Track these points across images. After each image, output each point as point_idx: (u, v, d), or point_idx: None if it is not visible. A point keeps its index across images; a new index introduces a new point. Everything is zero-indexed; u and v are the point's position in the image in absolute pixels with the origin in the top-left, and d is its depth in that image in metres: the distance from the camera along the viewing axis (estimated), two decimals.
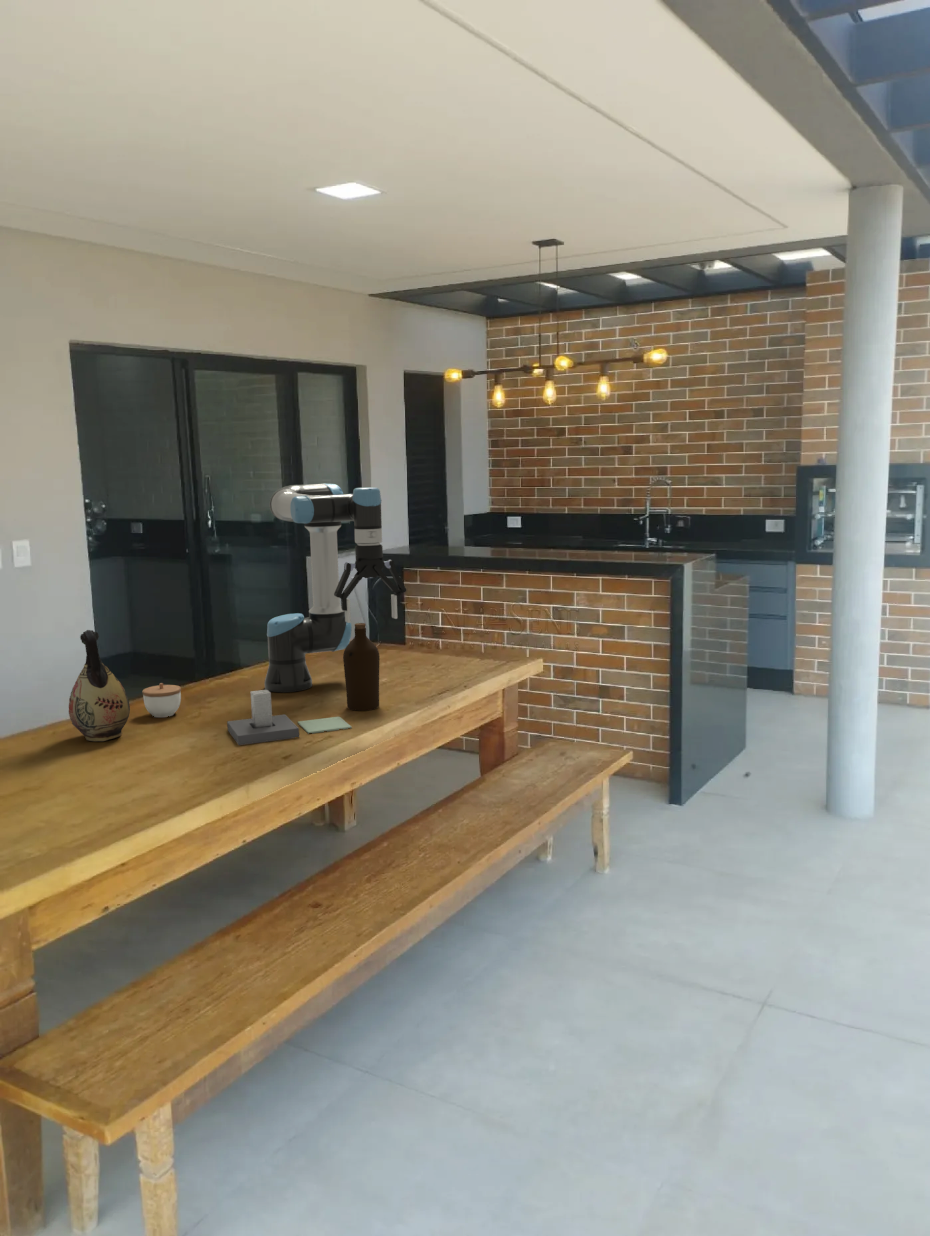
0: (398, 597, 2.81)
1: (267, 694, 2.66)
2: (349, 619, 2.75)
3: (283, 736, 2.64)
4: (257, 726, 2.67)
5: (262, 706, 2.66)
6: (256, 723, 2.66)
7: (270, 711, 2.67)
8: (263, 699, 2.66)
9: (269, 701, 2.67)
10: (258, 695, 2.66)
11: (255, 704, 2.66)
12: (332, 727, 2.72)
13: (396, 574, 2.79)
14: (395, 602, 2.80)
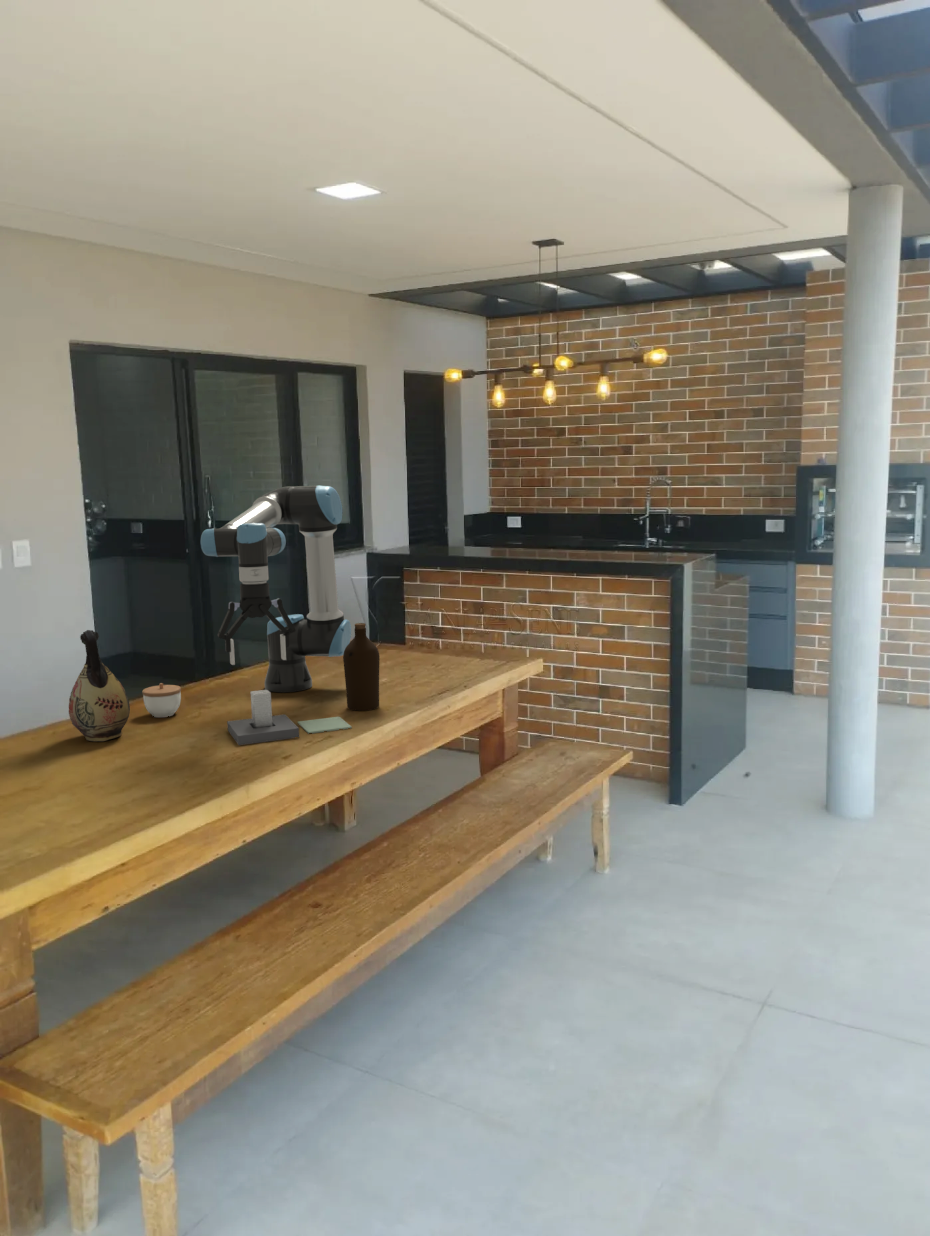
0: (287, 637, 2.68)
1: (267, 694, 2.66)
2: (233, 661, 2.62)
3: (283, 736, 2.64)
4: (257, 726, 2.67)
5: (262, 706, 2.66)
6: (256, 723, 2.66)
7: (270, 711, 2.67)
8: (263, 699, 2.66)
9: (269, 701, 2.67)
10: (258, 695, 2.66)
11: (255, 704, 2.66)
12: (332, 727, 2.72)
13: (284, 613, 2.66)
14: (283, 643, 2.67)
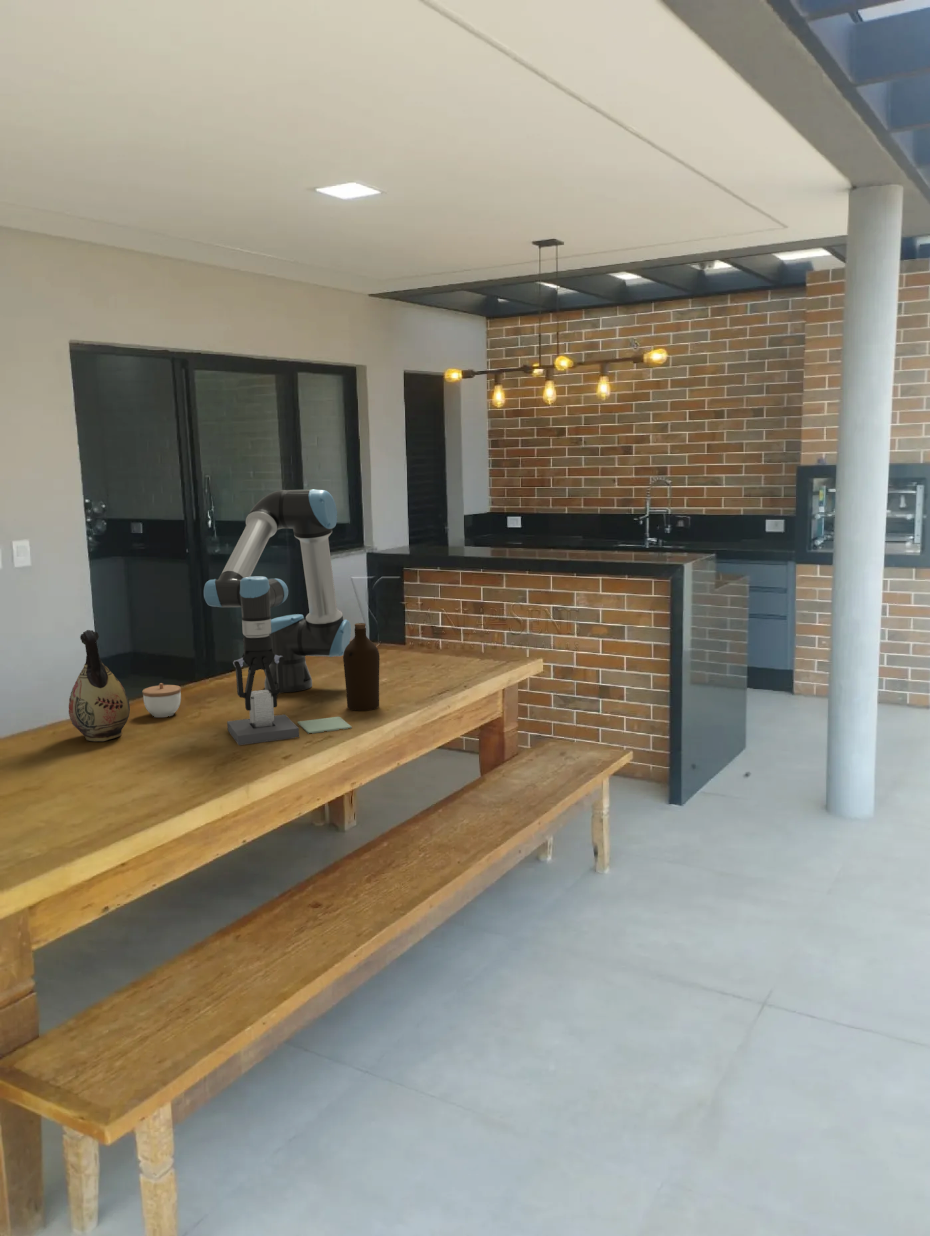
0: (275, 698, 2.69)
1: (267, 694, 2.66)
2: (253, 719, 2.67)
3: (283, 736, 2.64)
4: (257, 726, 2.67)
5: (262, 706, 2.66)
6: (256, 723, 2.66)
7: (270, 711, 2.67)
8: (263, 699, 2.66)
9: (269, 701, 2.67)
10: (258, 695, 2.66)
11: (255, 704, 2.66)
12: (332, 727, 2.72)
13: (280, 672, 2.68)
14: (271, 703, 2.68)
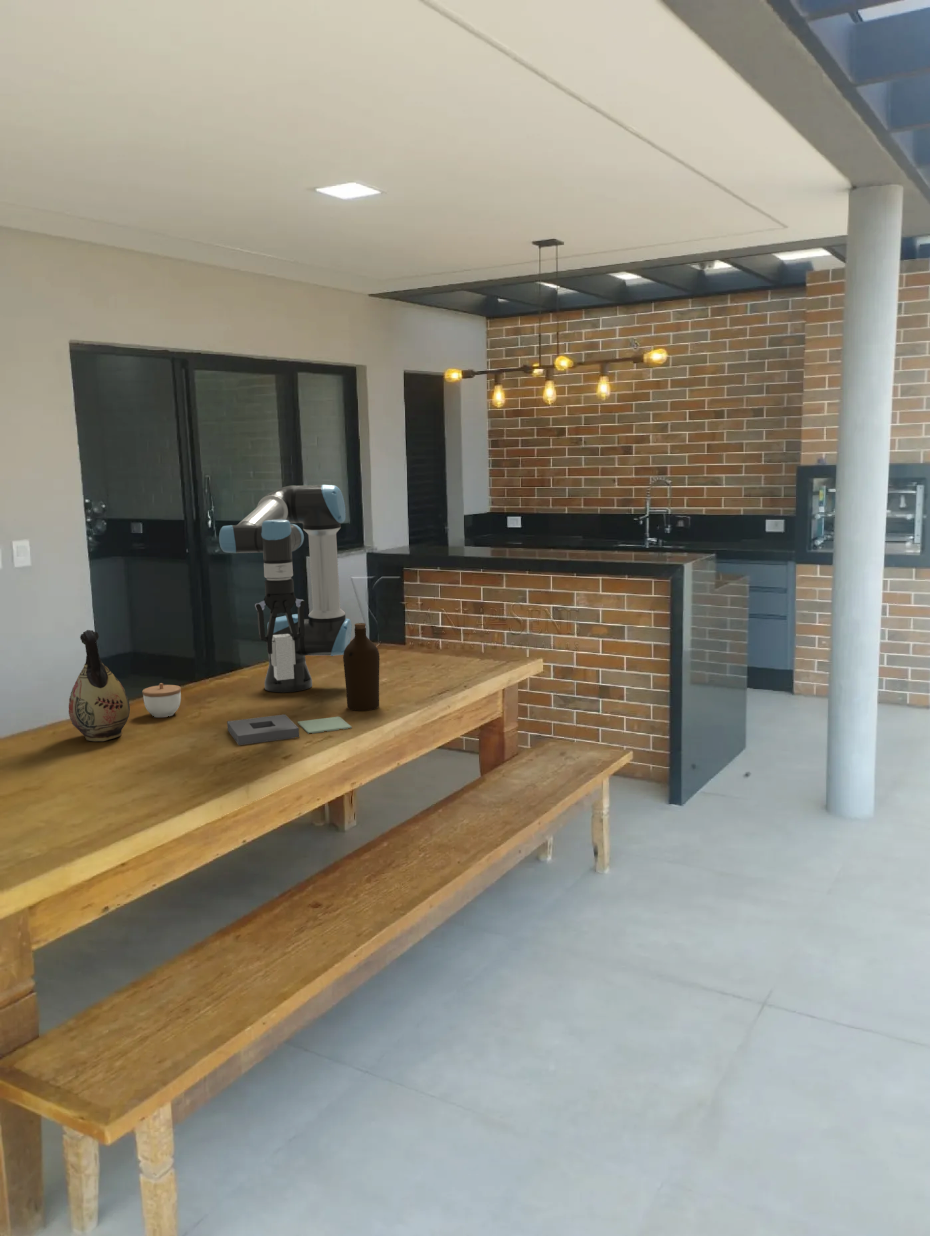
0: (296, 642, 2.69)
1: (288, 637, 2.67)
2: (274, 662, 2.67)
3: (283, 736, 2.64)
4: (278, 669, 2.67)
5: (283, 650, 2.67)
6: (277, 666, 2.67)
7: (291, 655, 2.68)
8: (285, 642, 2.66)
9: (290, 644, 2.67)
10: (279, 638, 2.66)
11: (276, 647, 2.66)
12: (332, 727, 2.72)
13: (302, 616, 2.68)
14: (293, 647, 2.68)
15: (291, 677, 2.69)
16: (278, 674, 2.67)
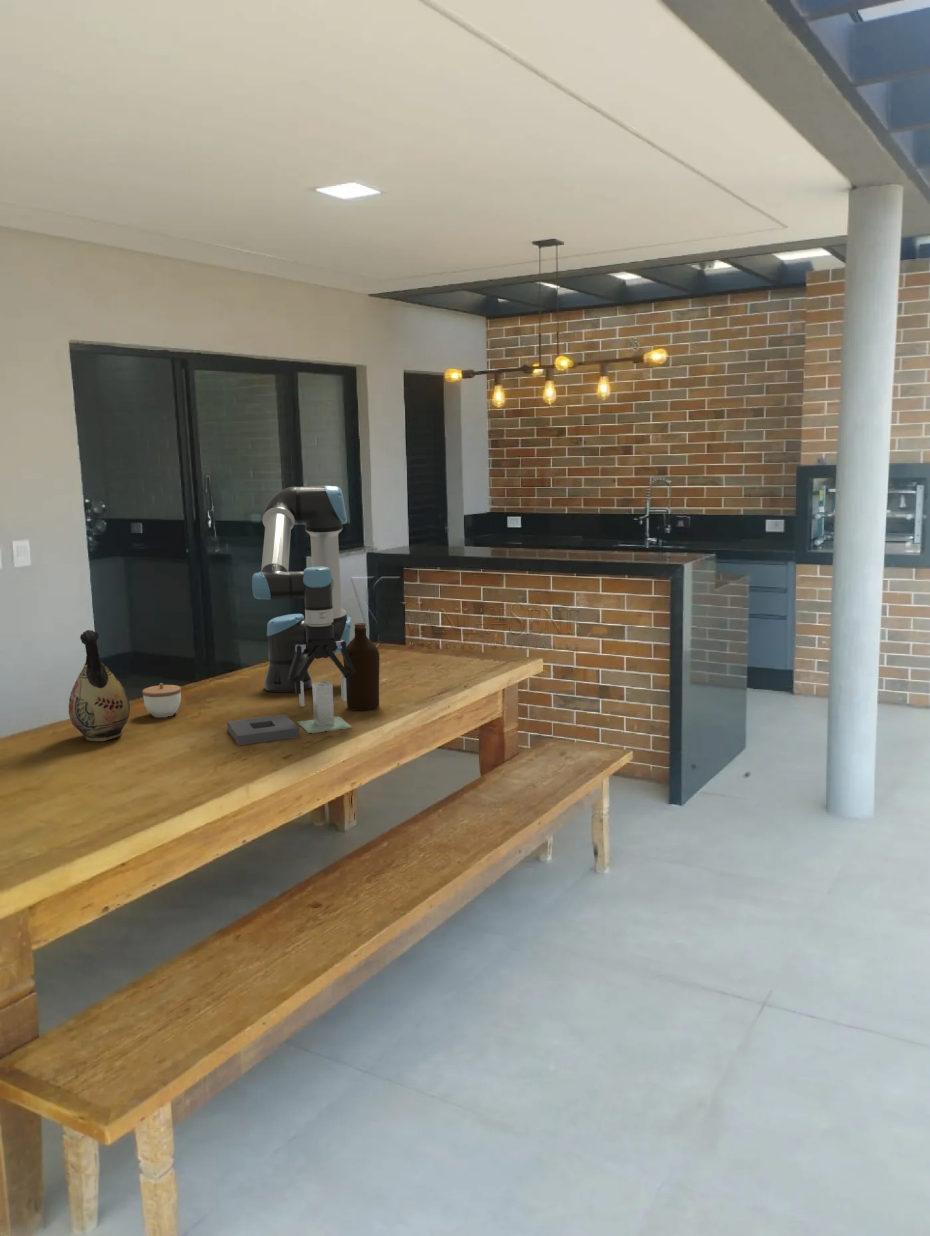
0: (347, 679, 2.76)
1: (329, 685, 2.73)
2: (303, 702, 2.72)
3: (283, 736, 2.64)
4: (319, 716, 2.73)
5: (324, 697, 2.73)
6: (318, 713, 2.73)
7: (332, 702, 2.74)
8: (325, 690, 2.73)
9: (331, 692, 2.73)
10: (320, 686, 2.72)
11: (317, 695, 2.72)
12: (332, 727, 2.72)
13: (347, 655, 2.75)
14: (344, 684, 2.76)
15: (331, 724, 2.75)
16: (319, 721, 2.73)
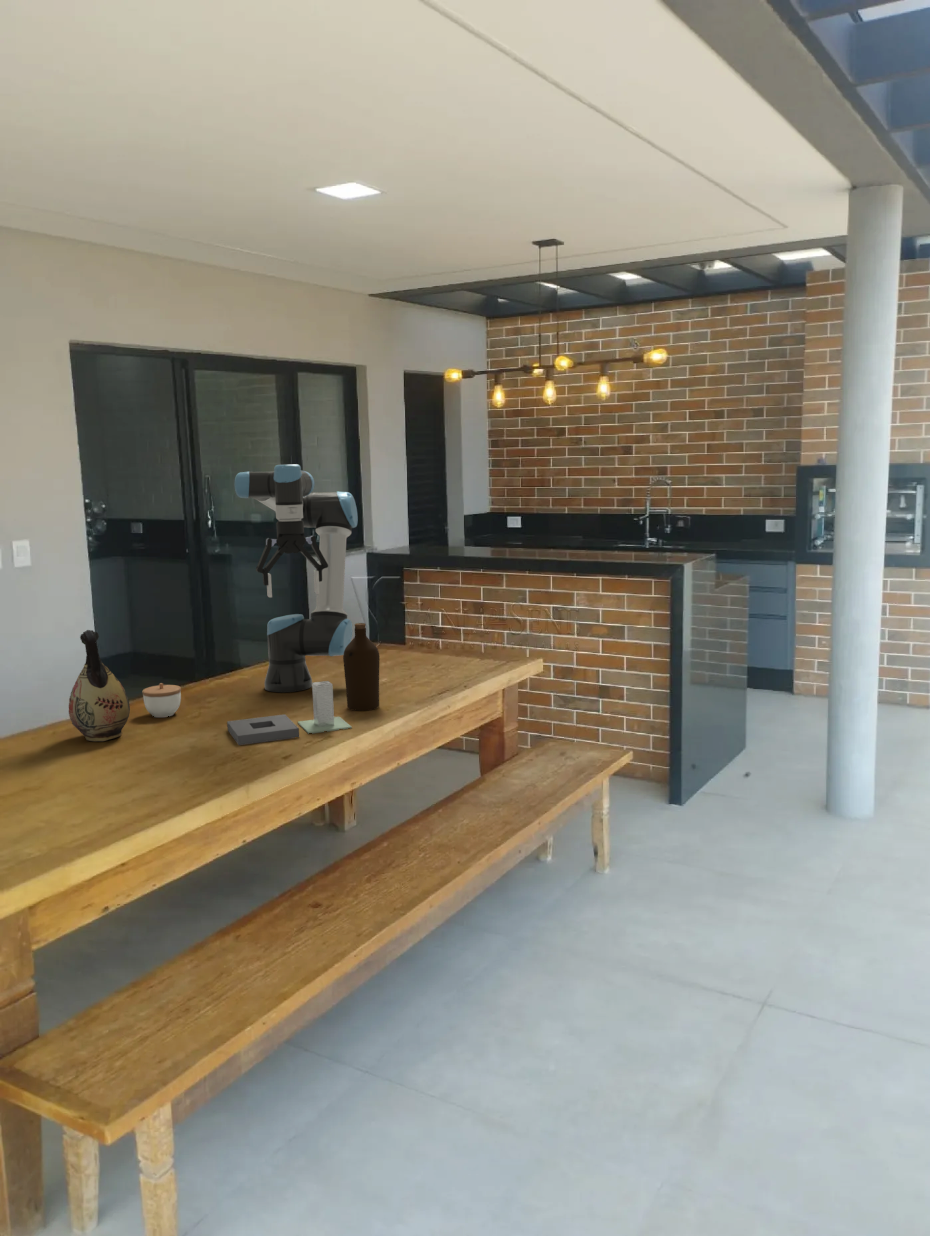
0: (320, 572, 2.86)
1: (329, 685, 2.73)
2: (270, 594, 2.80)
3: (283, 736, 2.64)
4: (319, 716, 2.73)
5: (324, 697, 2.73)
6: (318, 713, 2.73)
7: (332, 702, 2.74)
8: (325, 690, 2.73)
9: (331, 692, 2.73)
10: (320, 686, 2.72)
11: (317, 695, 2.72)
12: (332, 727, 2.72)
13: (318, 550, 2.84)
14: (317, 577, 2.85)
15: (331, 724, 2.75)
16: (319, 721, 2.73)
